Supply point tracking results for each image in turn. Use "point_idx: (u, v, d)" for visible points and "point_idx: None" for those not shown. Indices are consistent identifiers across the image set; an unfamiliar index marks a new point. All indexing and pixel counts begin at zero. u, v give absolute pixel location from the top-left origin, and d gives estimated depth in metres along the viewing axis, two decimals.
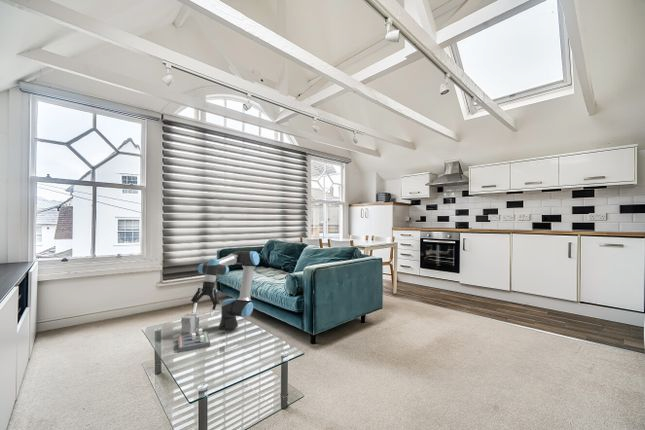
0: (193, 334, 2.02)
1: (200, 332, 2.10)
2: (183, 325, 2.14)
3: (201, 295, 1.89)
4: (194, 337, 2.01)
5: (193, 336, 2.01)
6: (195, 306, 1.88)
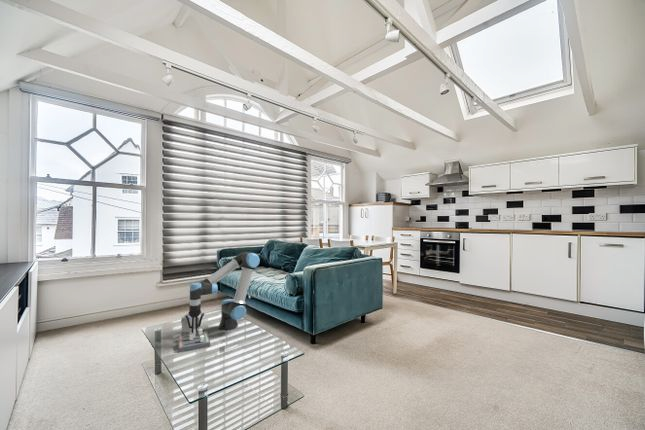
0: (191, 334, 2.01)
1: (200, 332, 2.10)
2: (183, 325, 2.14)
3: (193, 318, 2.02)
4: (191, 338, 2.01)
5: (191, 336, 2.00)
6: None
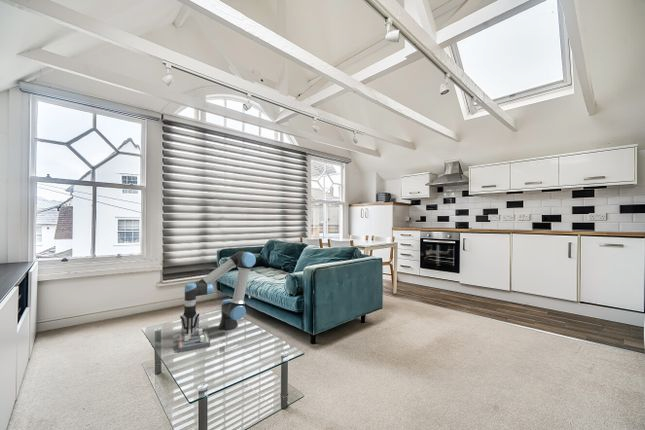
0: (186, 335, 2.00)
1: (200, 332, 2.10)
2: None
3: (188, 319, 2.01)
4: (186, 339, 1.99)
5: (186, 337, 1.99)
6: None
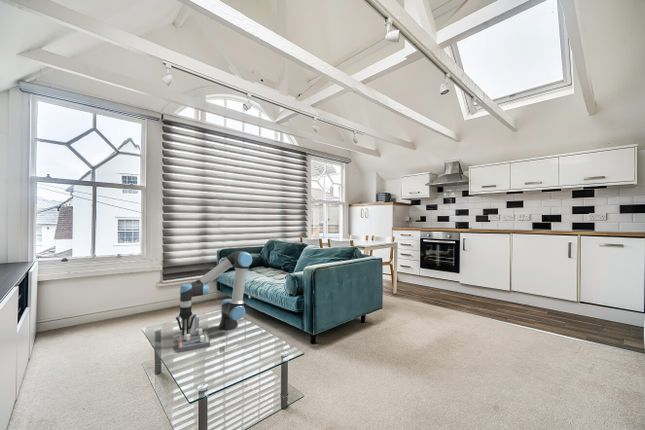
0: (187, 335, 2.00)
1: (200, 332, 2.10)
2: None
3: (184, 320, 2.00)
4: (188, 338, 2.00)
5: (187, 337, 1.99)
6: None
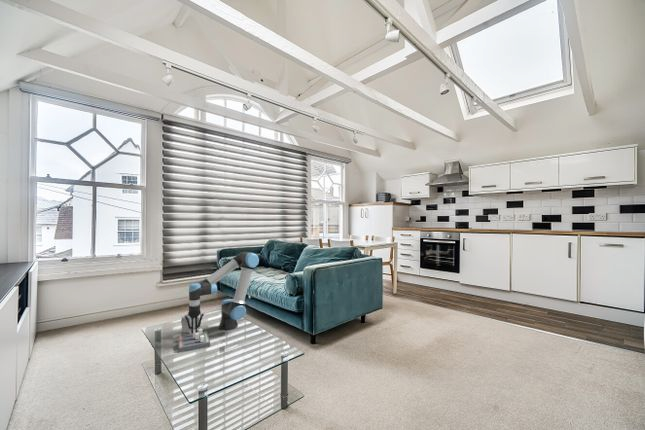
0: (196, 333, 2.03)
1: (200, 332, 2.10)
2: (183, 325, 2.14)
3: None
4: (197, 337, 2.02)
5: (196, 335, 2.02)
6: None
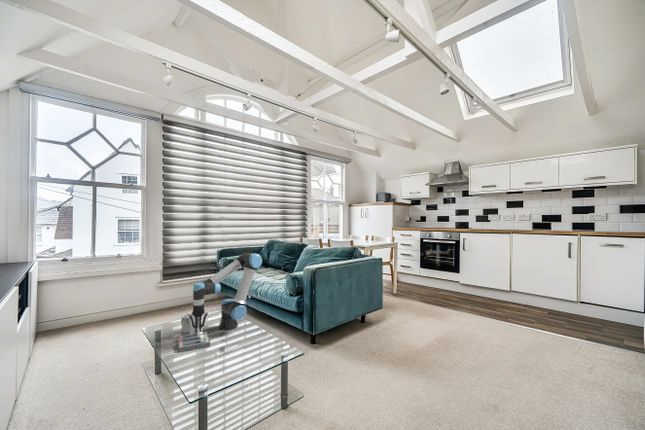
0: (200, 333, 2.04)
1: None
2: (183, 325, 2.14)
3: None
4: None
5: (200, 335, 2.03)
6: None
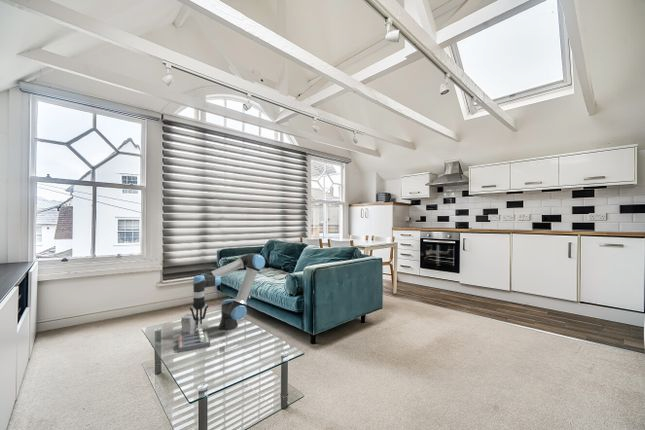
0: (201, 333, 2.04)
1: None
2: (183, 325, 2.14)
3: None
4: None
5: None
6: None
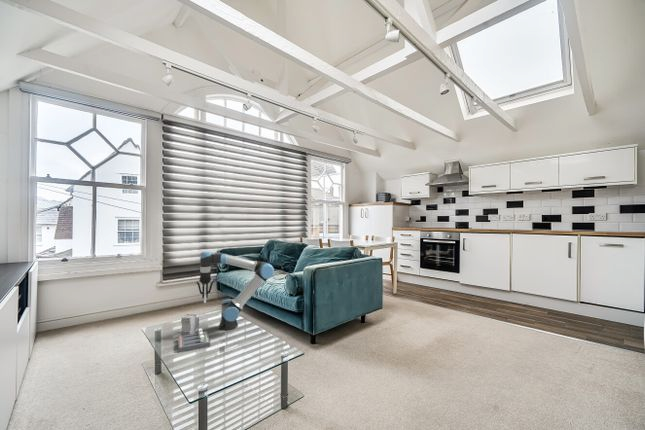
0: (201, 333, 2.04)
1: None
2: (183, 325, 2.14)
3: None
4: None
5: None
6: None
